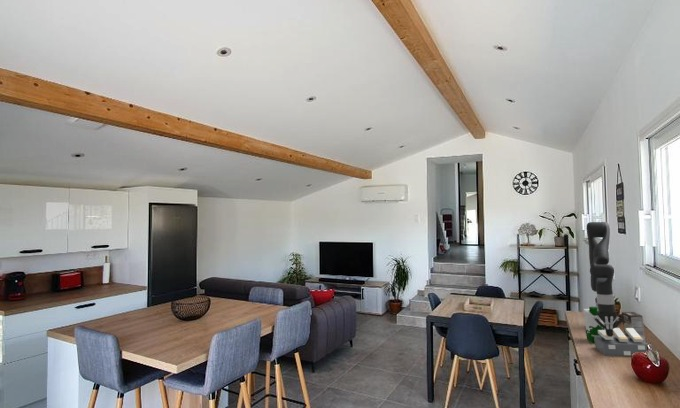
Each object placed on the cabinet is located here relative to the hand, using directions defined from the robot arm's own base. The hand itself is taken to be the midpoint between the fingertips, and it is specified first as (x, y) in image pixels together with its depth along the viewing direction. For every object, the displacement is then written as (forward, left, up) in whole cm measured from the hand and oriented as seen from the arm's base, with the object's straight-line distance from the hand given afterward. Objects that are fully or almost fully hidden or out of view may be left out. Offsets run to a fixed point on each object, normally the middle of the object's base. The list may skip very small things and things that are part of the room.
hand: (609, 336), depth 194 cm
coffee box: (-21, +20, -10) cm, 31 cm away
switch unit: (-5, +7, -10) cm, 13 cm away
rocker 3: (-5, +13, -1) cm, 14 cm away
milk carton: (-22, +1, -10) cm, 25 cm away
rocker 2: (-5, +7, -1) cm, 8 cm away
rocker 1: (-5, 0, -1) cm, 5 cm away
